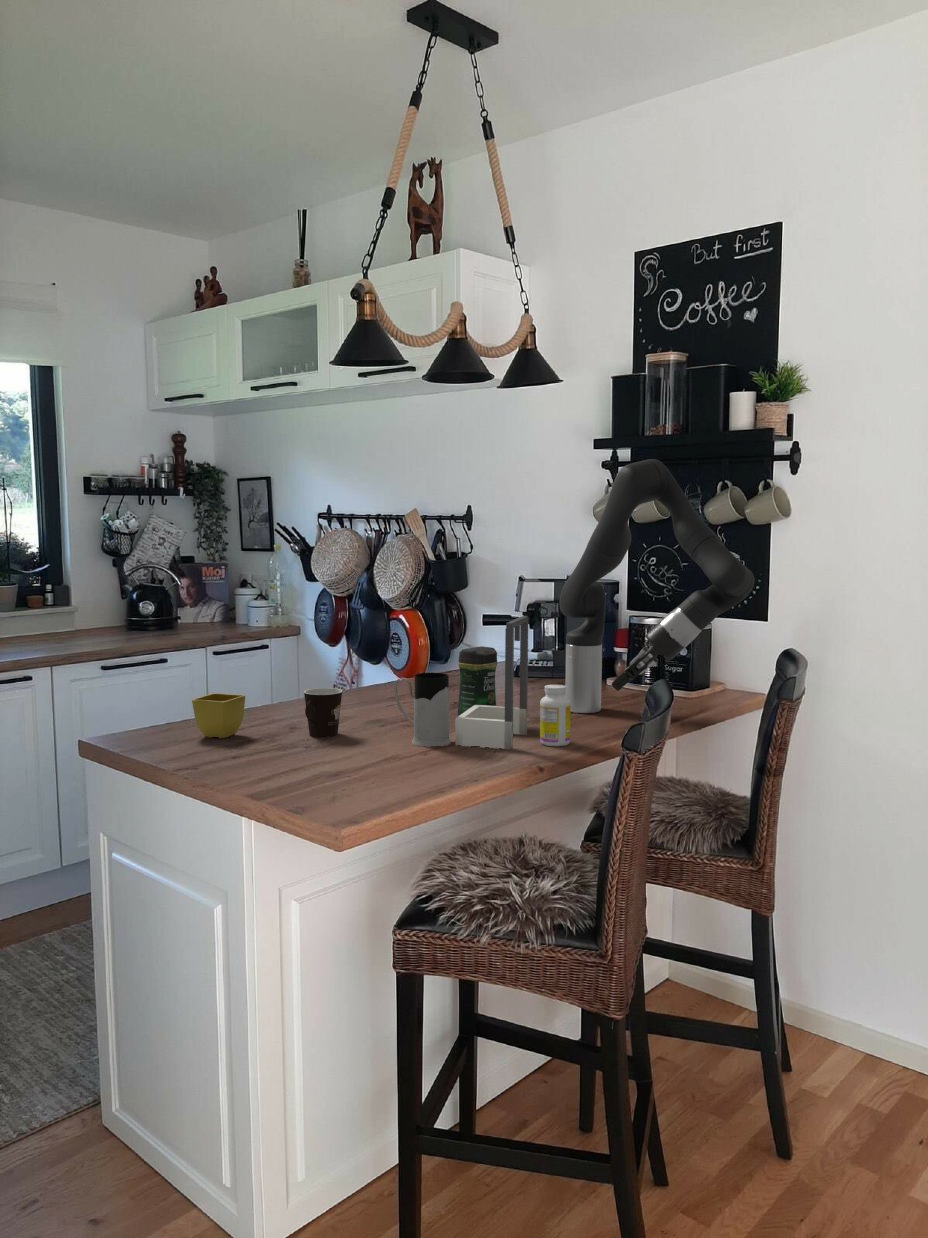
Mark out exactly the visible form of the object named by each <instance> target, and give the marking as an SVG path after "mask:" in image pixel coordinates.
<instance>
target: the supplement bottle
mask: <svg viewBox="0 0 928 1238" xmlns="http://www.w3.org/2000/svg"><path fill="white" fill-rule="evenodd" d="M544 692H545V696H543V697H542V698H541V699H540V702H539V709H540V711H539V742H540V744H542V745H543V746H547V747H566V746H568V745H569V744H570V743H571V712H570V708H571V703H570V700H569V698H567V697H565V693H566V686H565V684H546V685H544Z"/></svg>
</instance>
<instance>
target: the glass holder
mask: <svg viewBox="0 0 928 1238" xmlns="http://www.w3.org/2000/svg"><path fill="white" fill-rule="evenodd" d="M401 680H404V681H405V682H406V683H407V684H408V689H409V696H410V698H412V699H413V720H412V719H411V718H410V717H409V716H408V715H407V713H406V712H405V710H404V709H403V707H402V705H401V702H400V700H399V695H398V683H399V681H401ZM449 680H450V679H449V674H448V673H443V672H421V673H416V674H414V695H413V686H412V683H411V681H410V680H409V679H408V678H407V677H400V678H398V679H397V680H396V681H395V683H394V688H393V689H394V690H393V691H394V698H395V702H396V704H397V707H398V709H399V711H400V713H402V715H403V716H404V717H405V719H406V720H407V721H408V722H409V723H410V724H411V725H412V727H413V738H412V740H411V744H412V745H414V746H417V747H422V746H430V747H429V748H432V747H431V746H441V747H445V746H444V745H446V746H449V745H451V744H452V740H451V739H450V688H449V685H450V684H449ZM450 743H451V744H450ZM448 744H449V745H448Z"/></svg>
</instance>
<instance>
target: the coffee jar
mask: <svg viewBox="0 0 928 1238" xmlns="http://www.w3.org/2000/svg"><path fill="white" fill-rule="evenodd" d="M497 667H498V652H497V650H496V649H495V647H491V646H490V647H489V646H474V647H468V648H463V649H461V650H460V651H459V654H458V669H459V692H458V702H457V703H458V705H457V717H458V716H459V715H461V714H462V713H464V712H465V711H467V710H468V709H470V708H471V707H472V706H474V705H487V706H497V699H496V697H497V696H496V672H497V671H496V670H497ZM457 717H456V718H457Z"/></svg>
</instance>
